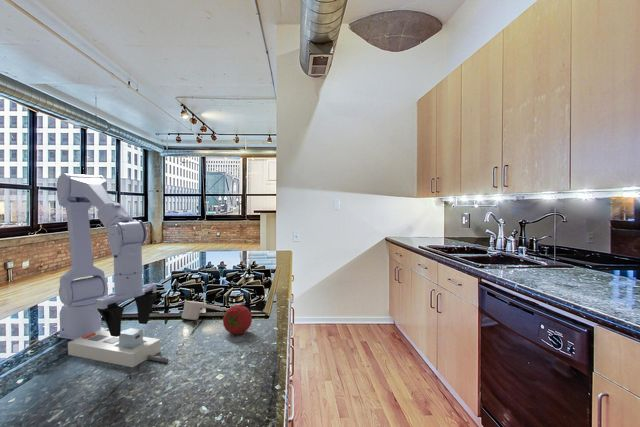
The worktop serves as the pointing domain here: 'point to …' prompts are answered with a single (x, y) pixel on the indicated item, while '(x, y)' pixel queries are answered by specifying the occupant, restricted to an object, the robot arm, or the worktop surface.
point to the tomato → (237, 319)
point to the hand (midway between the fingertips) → (129, 329)
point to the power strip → (114, 349)
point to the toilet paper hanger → (196, 309)
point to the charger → (130, 338)
